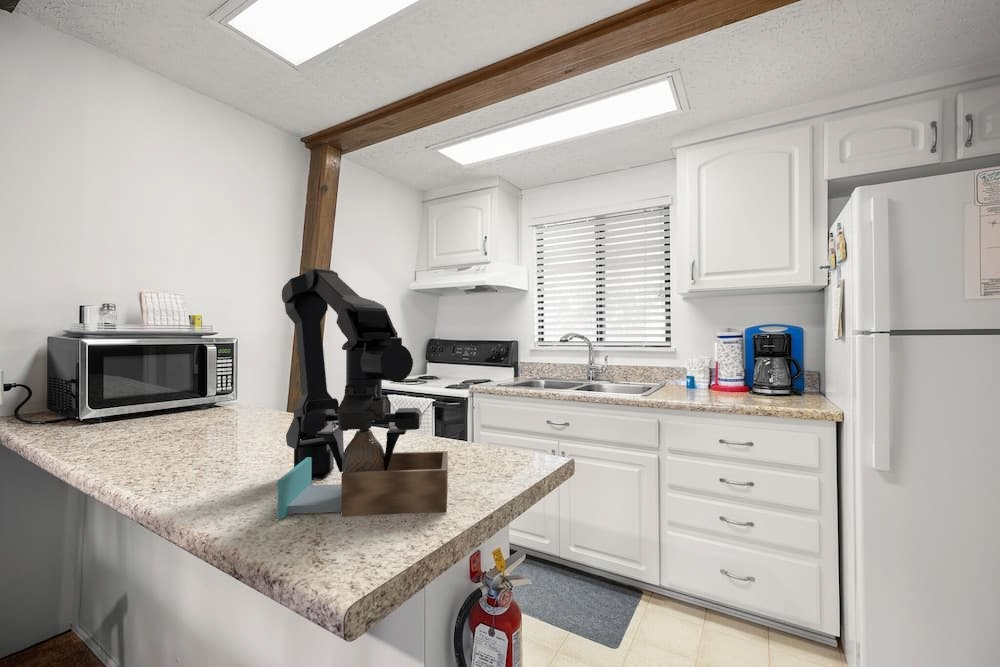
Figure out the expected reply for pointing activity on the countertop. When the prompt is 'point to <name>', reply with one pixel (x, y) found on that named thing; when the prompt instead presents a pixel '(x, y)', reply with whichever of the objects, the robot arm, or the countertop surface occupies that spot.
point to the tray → (306, 492)
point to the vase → (363, 453)
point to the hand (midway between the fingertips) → (363, 470)
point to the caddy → (398, 486)
